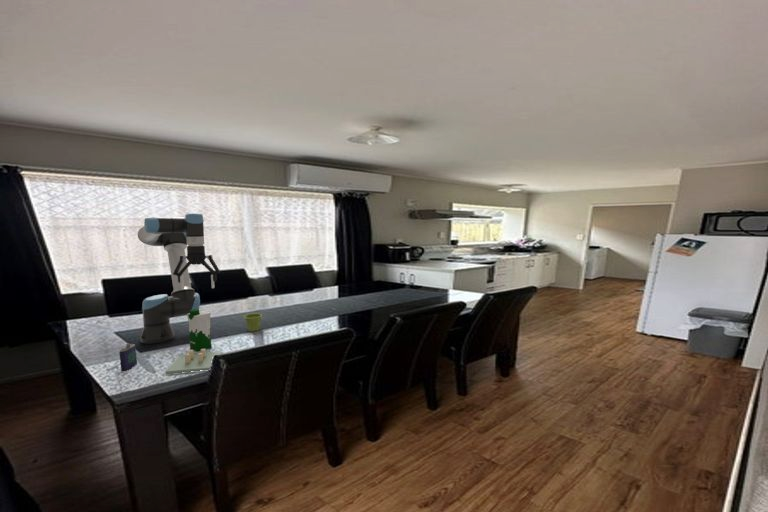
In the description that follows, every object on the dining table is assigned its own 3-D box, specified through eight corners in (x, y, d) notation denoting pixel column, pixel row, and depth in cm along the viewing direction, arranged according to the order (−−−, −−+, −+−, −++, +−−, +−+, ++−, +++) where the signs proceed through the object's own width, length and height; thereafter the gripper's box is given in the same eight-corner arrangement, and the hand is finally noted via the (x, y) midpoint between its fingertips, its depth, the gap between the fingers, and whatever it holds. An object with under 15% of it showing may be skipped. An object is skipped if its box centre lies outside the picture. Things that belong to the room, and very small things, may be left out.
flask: (132, 363, 152) (130, 340, 151) (139, 362, 152) (137, 339, 151) (119, 372, 143) (117, 347, 142) (126, 371, 143) (125, 347, 142)
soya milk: (187, 349, 168) (184, 309, 166) (204, 343, 176) (202, 306, 174) (196, 353, 164) (194, 312, 162) (214, 347, 171) (212, 308, 169)
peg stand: (165, 374, 141) (165, 362, 140) (180, 358, 158) (179, 346, 157) (213, 370, 145) (212, 358, 144) (222, 354, 162) (221, 343, 162)
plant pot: (256, 333, 193) (255, 318, 192) (241, 332, 195) (241, 317, 194) (265, 328, 202) (264, 313, 201) (251, 327, 204) (250, 313, 203)
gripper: (163, 246, 158) (166, 291, 160) (222, 245, 164) (224, 288, 166) (169, 245, 165) (172, 288, 167) (225, 244, 171) (227, 285, 174)
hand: (198, 288), depth 167 cm, fingers open, 13 cm apart
